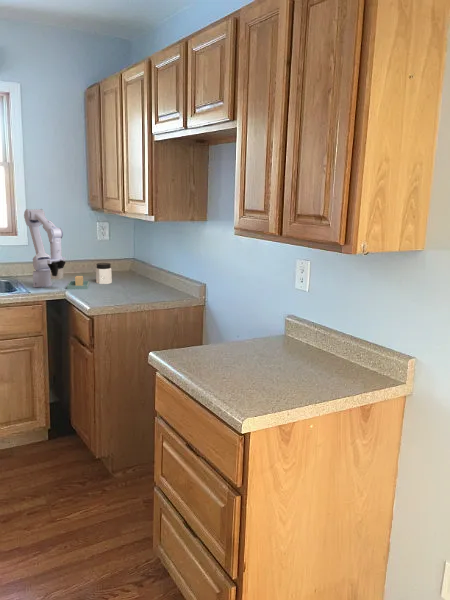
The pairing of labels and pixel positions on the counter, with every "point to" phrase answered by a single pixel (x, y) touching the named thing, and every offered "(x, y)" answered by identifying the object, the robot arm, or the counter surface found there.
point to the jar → (103, 273)
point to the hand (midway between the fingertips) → (57, 275)
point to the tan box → (79, 281)
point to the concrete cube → (58, 274)
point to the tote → (72, 286)
